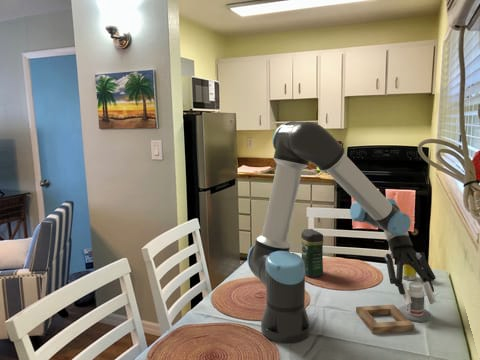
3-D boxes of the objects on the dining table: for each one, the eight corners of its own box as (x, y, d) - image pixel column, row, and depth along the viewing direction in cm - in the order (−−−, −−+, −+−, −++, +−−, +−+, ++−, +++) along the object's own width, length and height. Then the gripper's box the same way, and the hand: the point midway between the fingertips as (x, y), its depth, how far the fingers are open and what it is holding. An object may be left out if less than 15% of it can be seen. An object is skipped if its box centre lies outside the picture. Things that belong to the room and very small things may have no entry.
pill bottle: (427, 313, 126) (428, 285, 125) (417, 318, 123) (418, 289, 122) (411, 306, 131) (412, 279, 129) (402, 311, 128) (403, 284, 126)
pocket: (372, 333, 116) (372, 327, 116) (355, 312, 129) (356, 306, 129) (413, 330, 117) (414, 324, 117) (393, 310, 130) (393, 304, 130)
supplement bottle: (418, 279, 154) (420, 255, 152) (406, 281, 153) (407, 256, 151) (409, 274, 159) (411, 250, 158) (397, 276, 158) (399, 252, 156)
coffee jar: (326, 276, 159) (326, 232, 156) (308, 278, 157) (309, 234, 154) (314, 267, 168) (315, 226, 165) (298, 270, 166) (298, 228, 163)
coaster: (407, 323, 122) (407, 321, 122) (392, 307, 132) (392, 306, 132) (437, 320, 123) (437, 319, 123) (420, 306, 132) (420, 304, 132)
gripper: (421, 242, 140) (445, 305, 127) (367, 245, 138) (386, 309, 125) (430, 232, 134) (457, 297, 121) (374, 235, 132) (394, 301, 119)
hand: (421, 303), depth 123 cm, fingers open, 7 cm apart
